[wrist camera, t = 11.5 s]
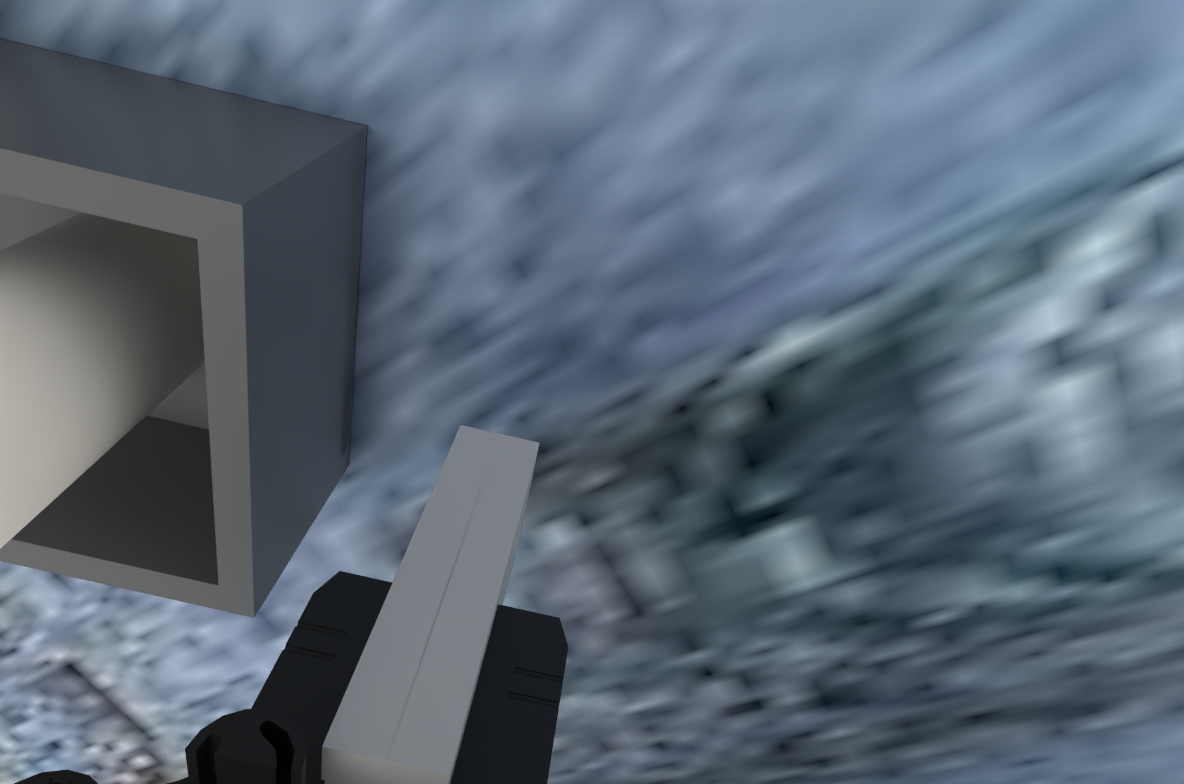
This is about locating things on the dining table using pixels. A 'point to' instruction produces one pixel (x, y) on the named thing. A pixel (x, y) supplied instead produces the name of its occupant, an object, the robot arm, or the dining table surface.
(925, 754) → the dining table surface
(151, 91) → the tray
